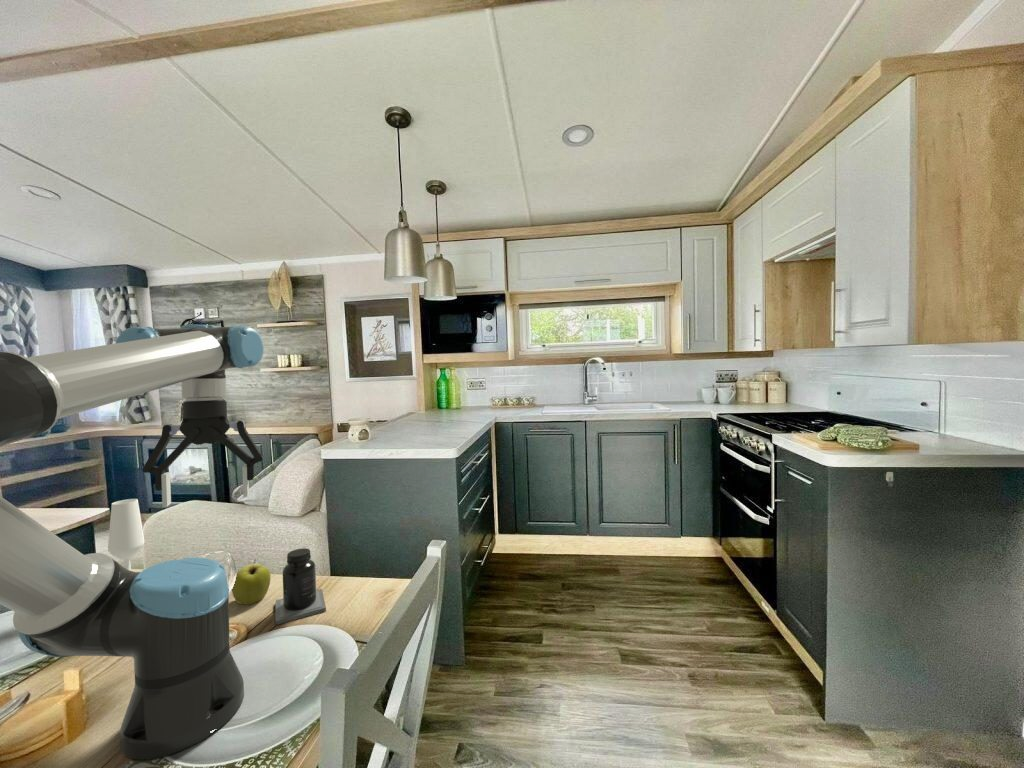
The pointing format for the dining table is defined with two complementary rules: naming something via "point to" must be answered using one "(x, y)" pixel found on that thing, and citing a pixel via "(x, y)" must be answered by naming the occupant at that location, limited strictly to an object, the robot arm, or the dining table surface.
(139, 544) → the champagne flute
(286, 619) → the slate coaster
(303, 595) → the supplement bottle
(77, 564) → the robot arm
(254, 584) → the apple
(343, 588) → the dining table surface
